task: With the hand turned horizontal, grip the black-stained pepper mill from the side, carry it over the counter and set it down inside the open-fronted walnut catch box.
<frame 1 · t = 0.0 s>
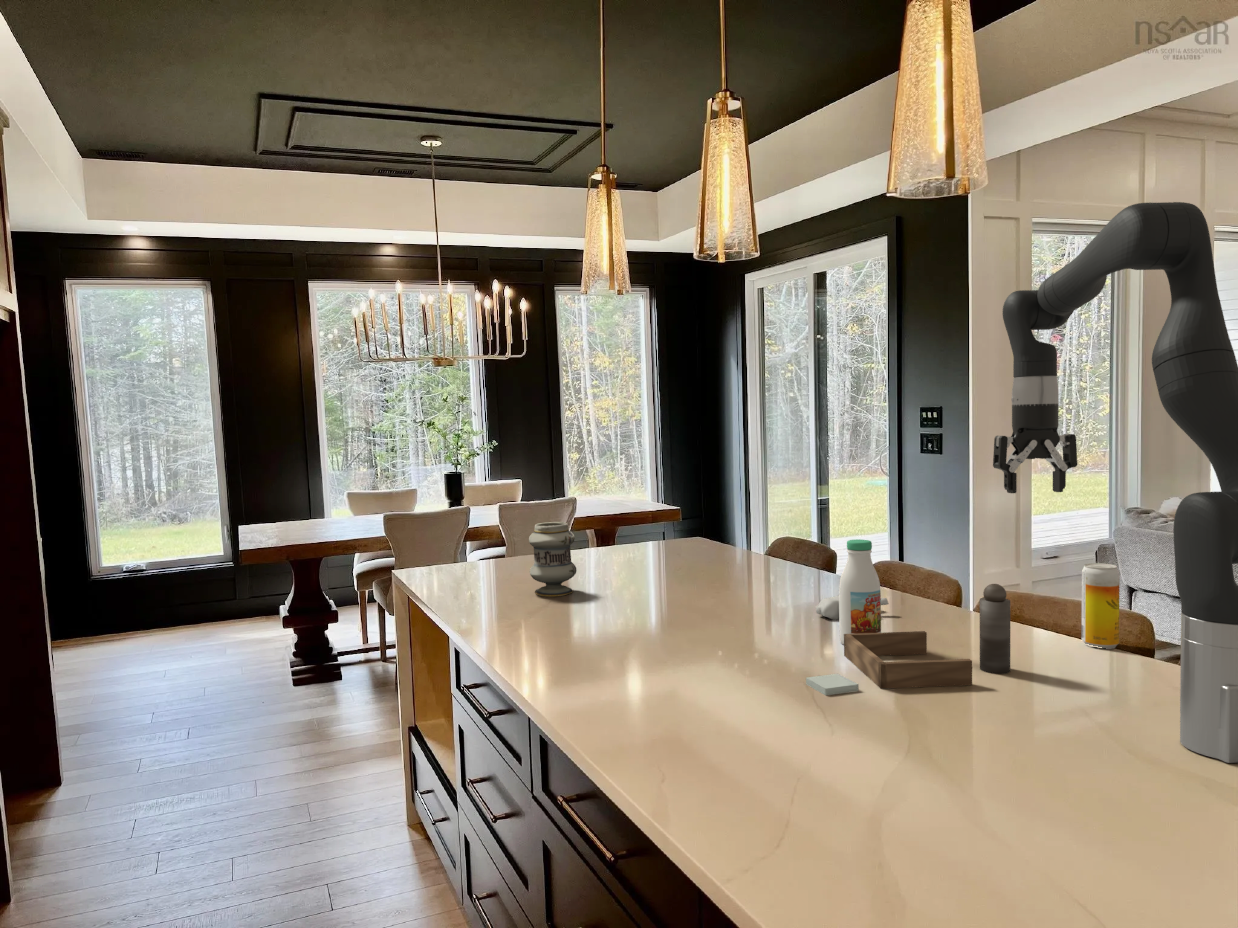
hand: (1034, 492, 152), 29 cm above the kitchen island, tool pointing down, fingers open, 8 cm apart
pepper mill: (994, 669, 144), on the kitchen island
ceramic tile: (831, 690, 137), on the kitchen island
milk bottle: (860, 644, 162), on the kitchen island
catch box: (904, 669, 145), on the kitchen island
beer can: (1100, 646, 157), on the kitchen island
apothecary jar: (553, 593, 217), on the kitchen island
bunny figurine: (850, 616, 185), on the kitchen island
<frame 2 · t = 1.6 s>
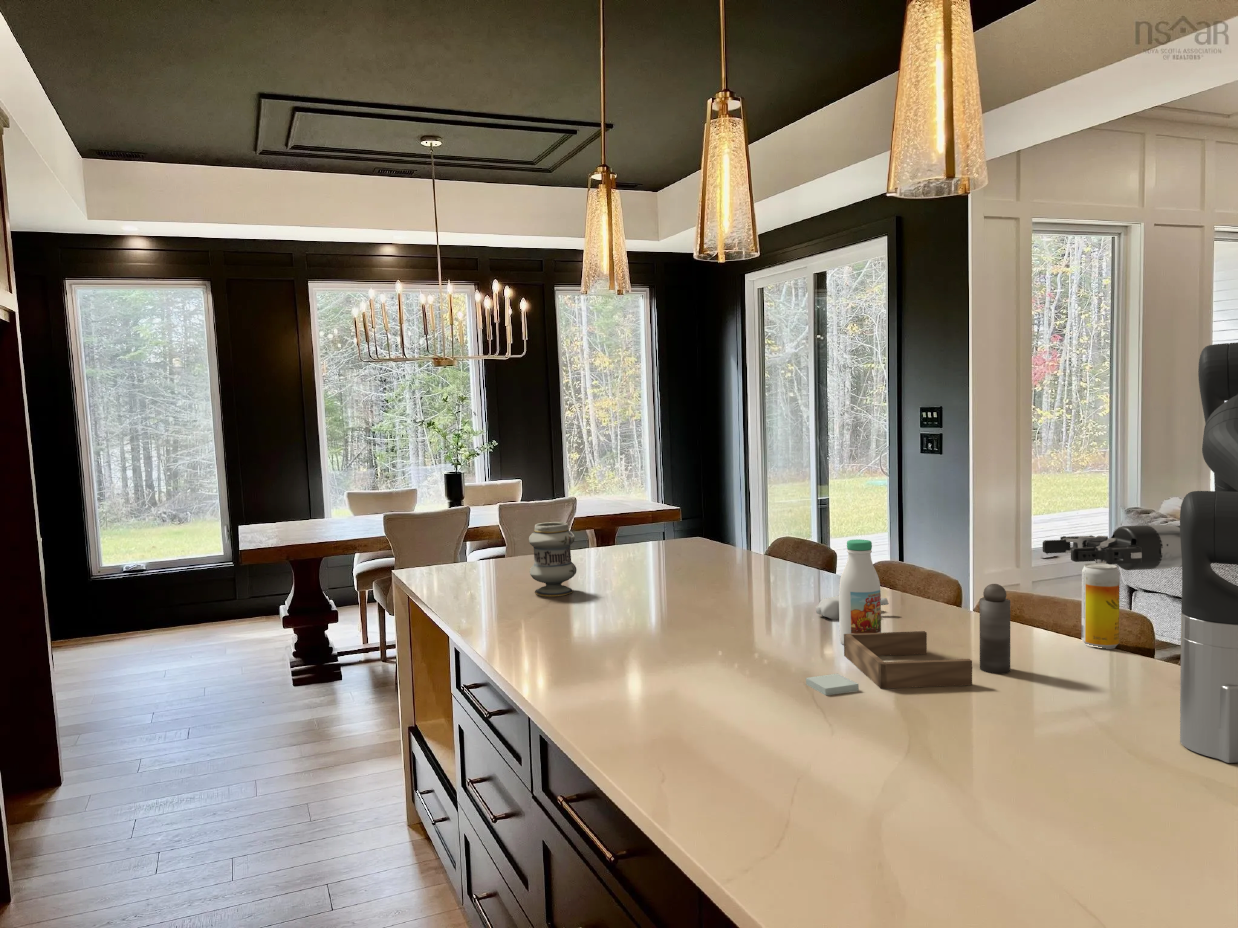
hand: (1057, 550, 143), 20 cm above the kitchen island, tool horizontal, fingers open, 8 cm apart
nothing on the kitchen island moved.
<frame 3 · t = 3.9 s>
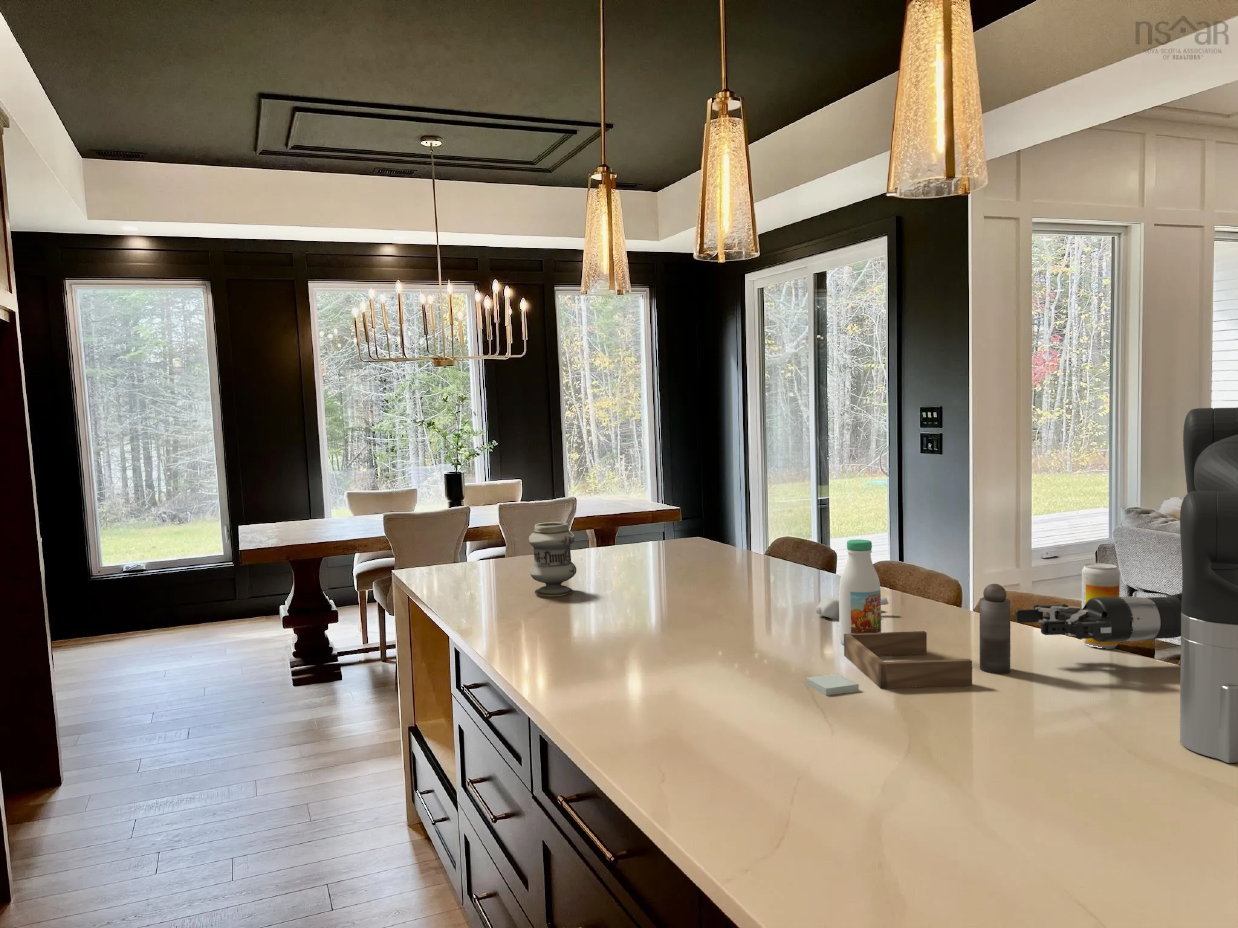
hand: (1028, 621, 144), 8 cm above the kitchen island, tool horizontal, fingers open, 8 cm apart
nothing on the kitchen island moved.
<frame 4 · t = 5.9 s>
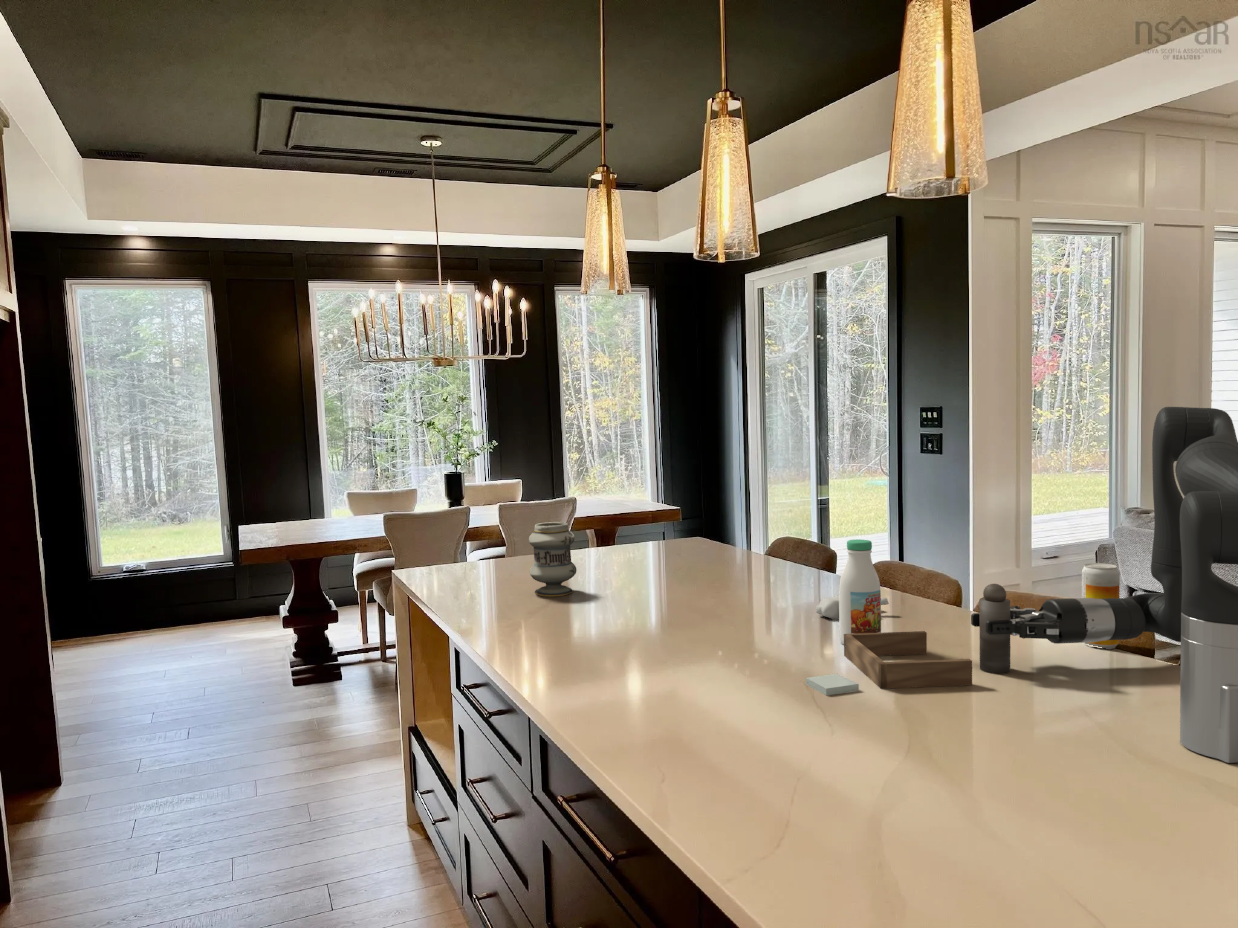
hand: (979, 623, 143), 8 cm above the kitchen island, tool horizontal, fingers closed on pepper mill, 4 cm apart
pepper mill: (994, 669, 144), on the kitchen island, touching gripper
everything else where it was.
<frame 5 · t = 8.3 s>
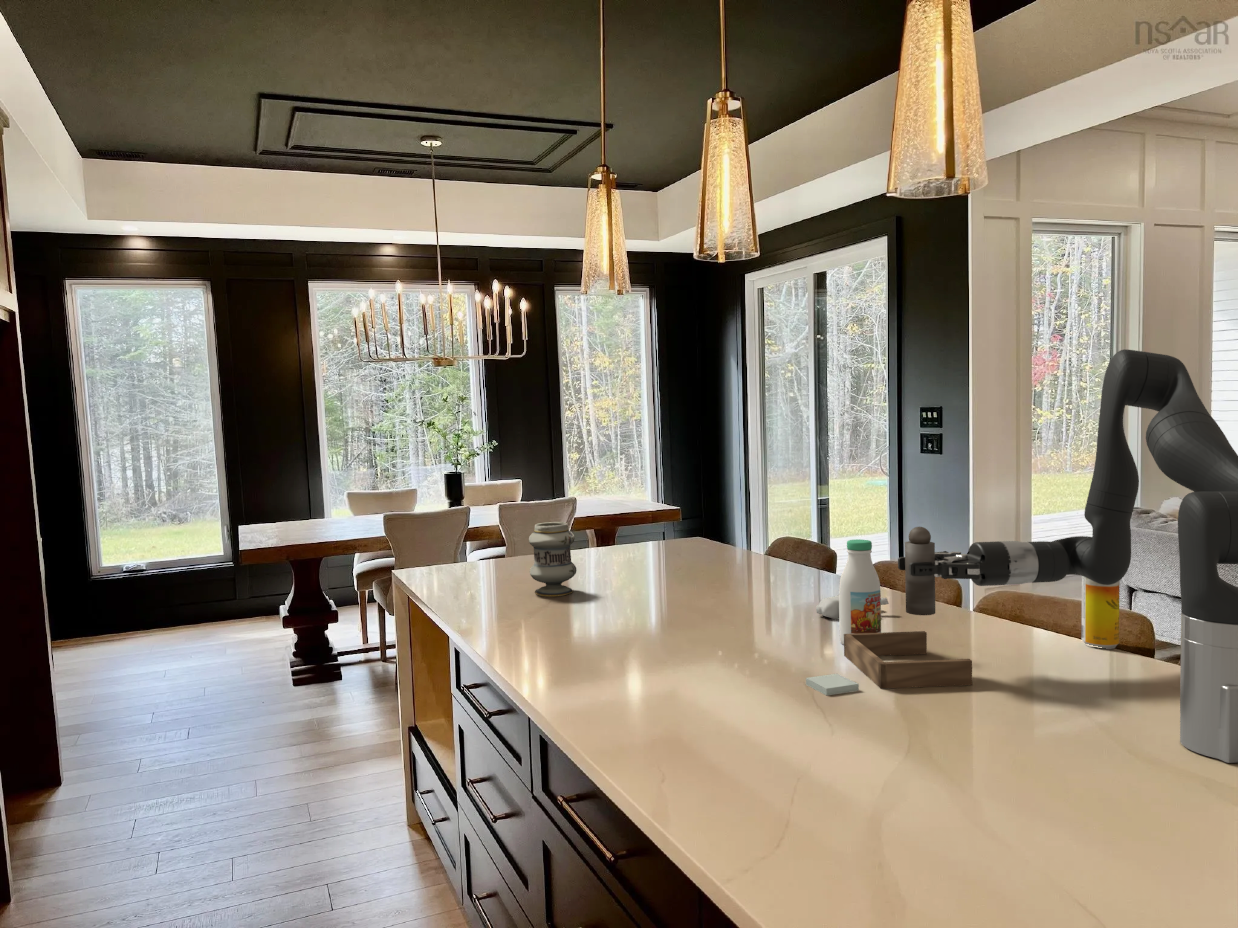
hand: (904, 566, 144), 18 cm above the kitchen island, tool horizontal, fingers closed on pepper mill, 4 cm apart
pepper mill: (920, 612, 145), point 10 cm above the kitchen island, touching gripper
everything else where it was.
when the fingers open (9 cm above the kitchen island, at t = 10.6 s): pepper mill drops 1 cm, resting in catch box.
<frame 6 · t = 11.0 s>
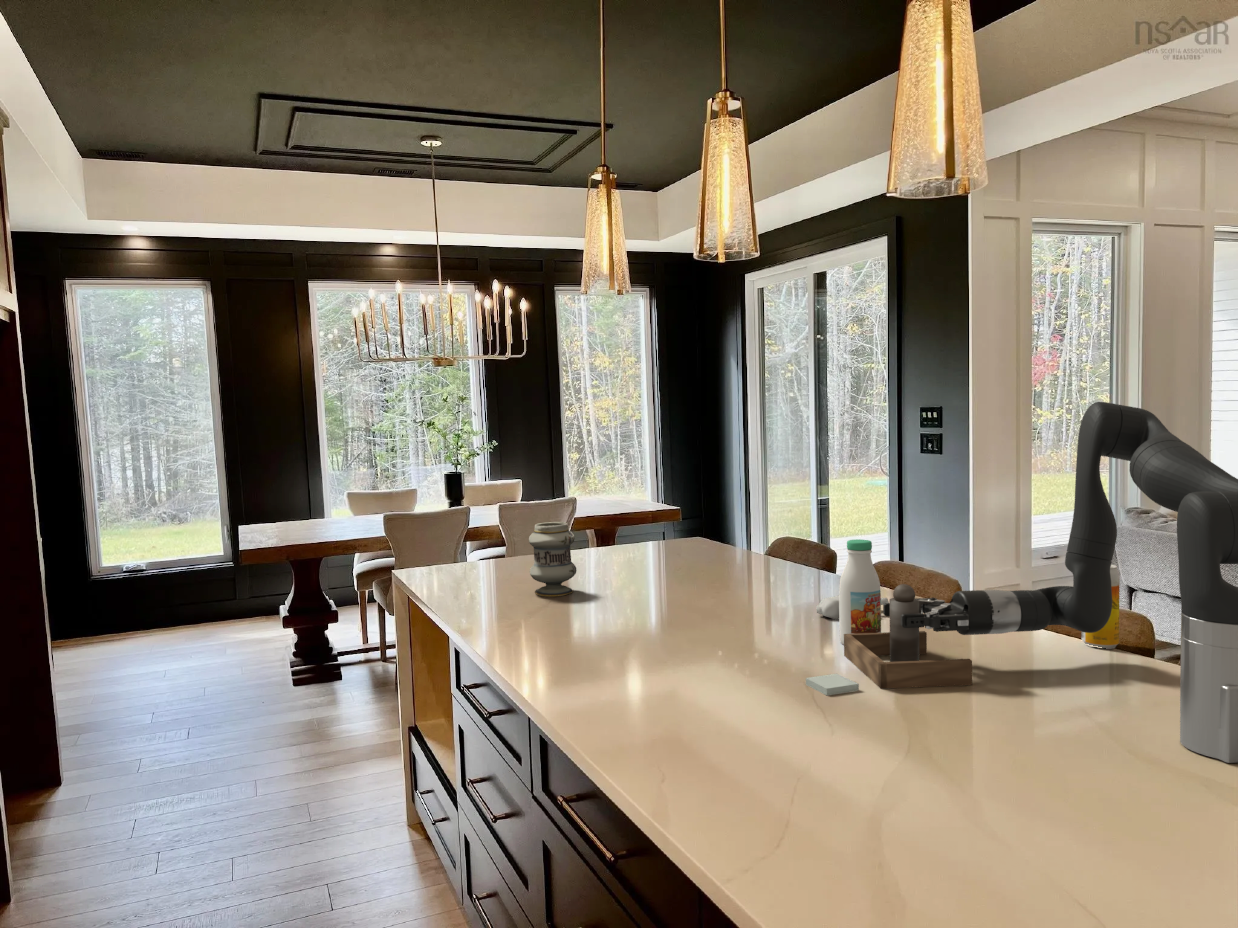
hand: (892, 615, 145), 10 cm above the kitchen island, tool horizontal, fingers open, 8 cm apart
pepper mill: (904, 669, 145), resting in catch box
everything else where it was.
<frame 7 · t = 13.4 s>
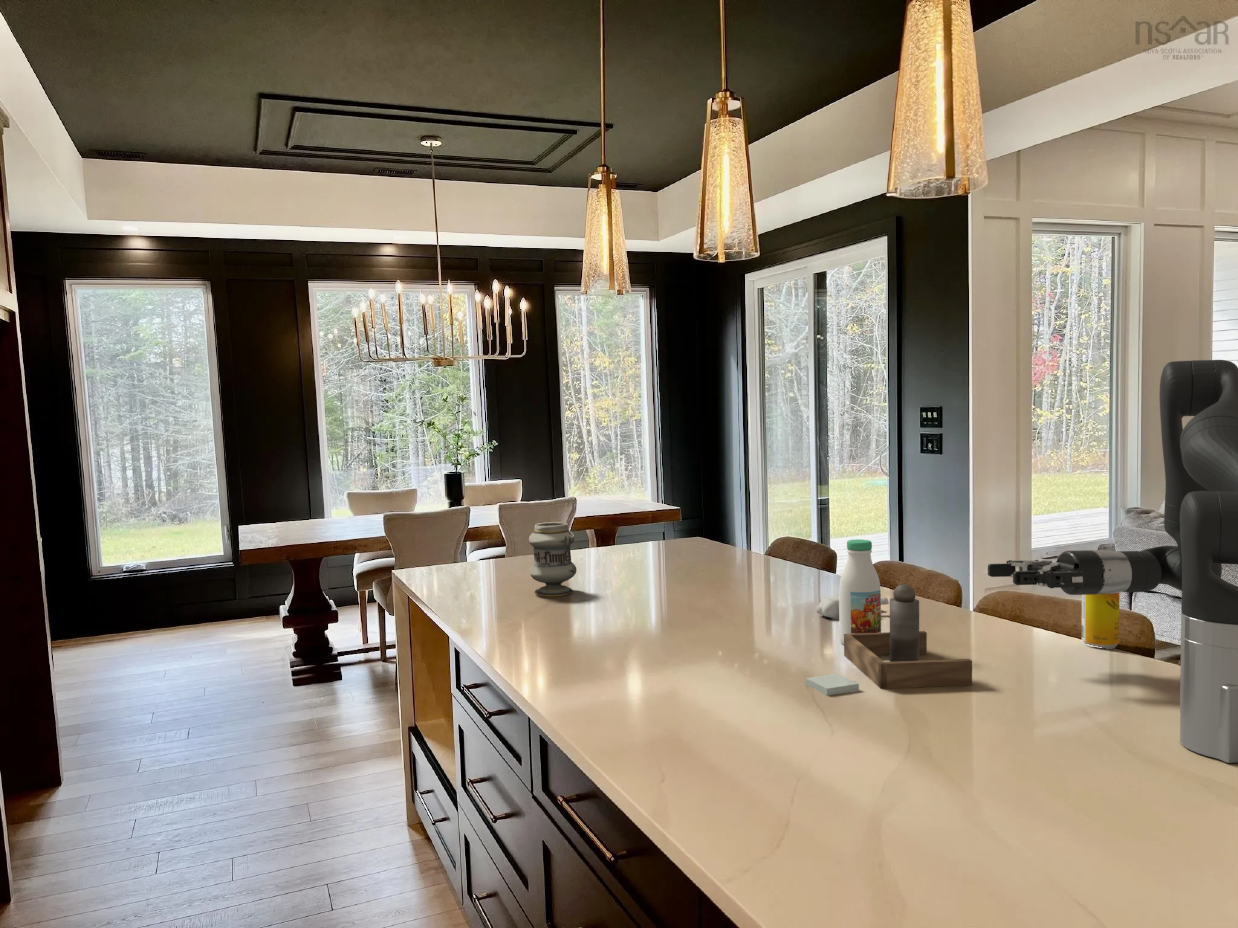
hand: (1001, 574, 143), 16 cm above the kitchen island, tool horizontal, fingers open, 8 cm apart
nothing on the kitchen island moved.
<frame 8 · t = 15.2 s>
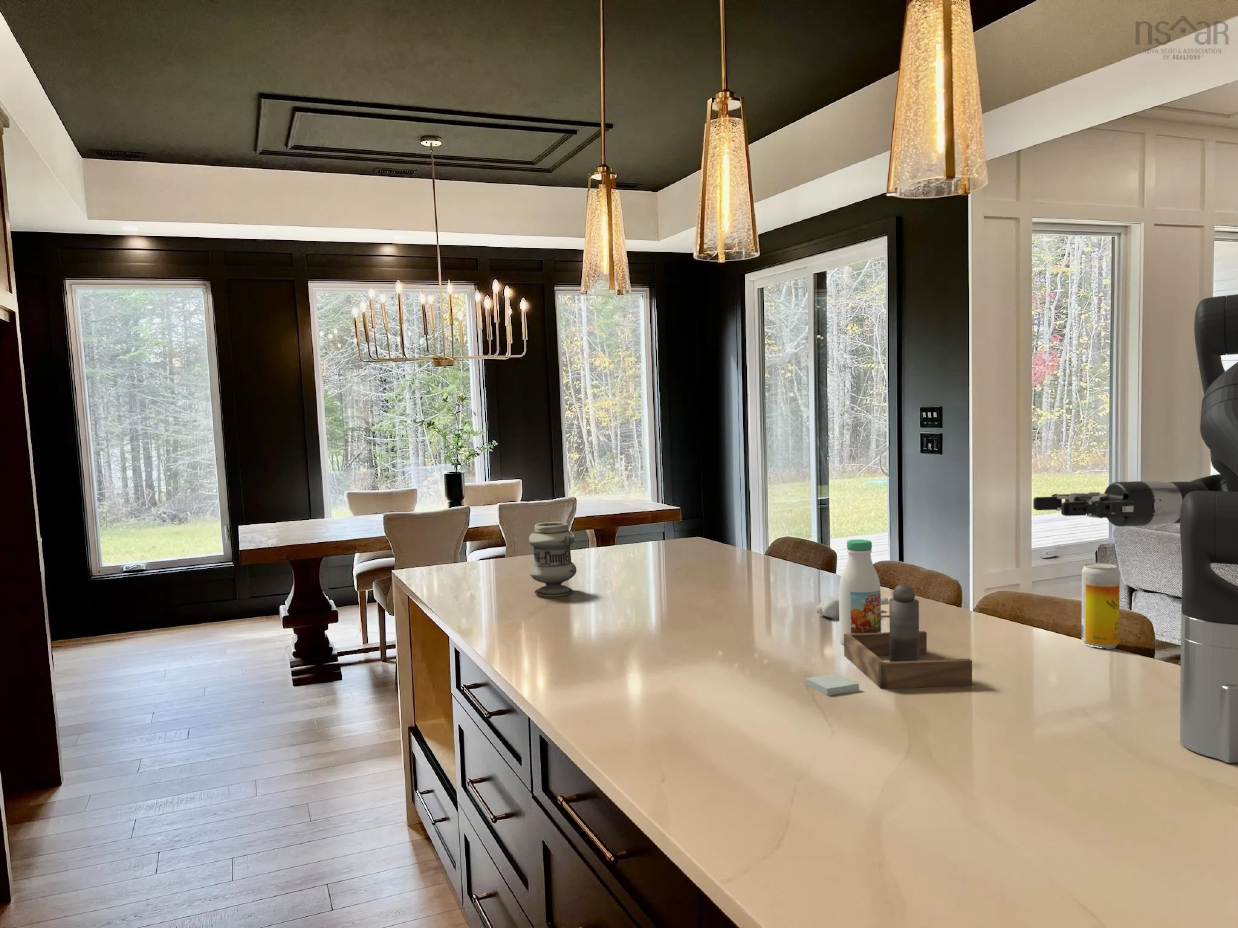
hand: (1048, 506, 141), 28 cm above the kitchen island, tool horizontal, fingers open, 8 cm apart
nothing on the kitchen island moved.
at the end: pepper mill inside the target area (0.1 cm from its centre), resting in catch box; the gripper is holding nothing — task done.
